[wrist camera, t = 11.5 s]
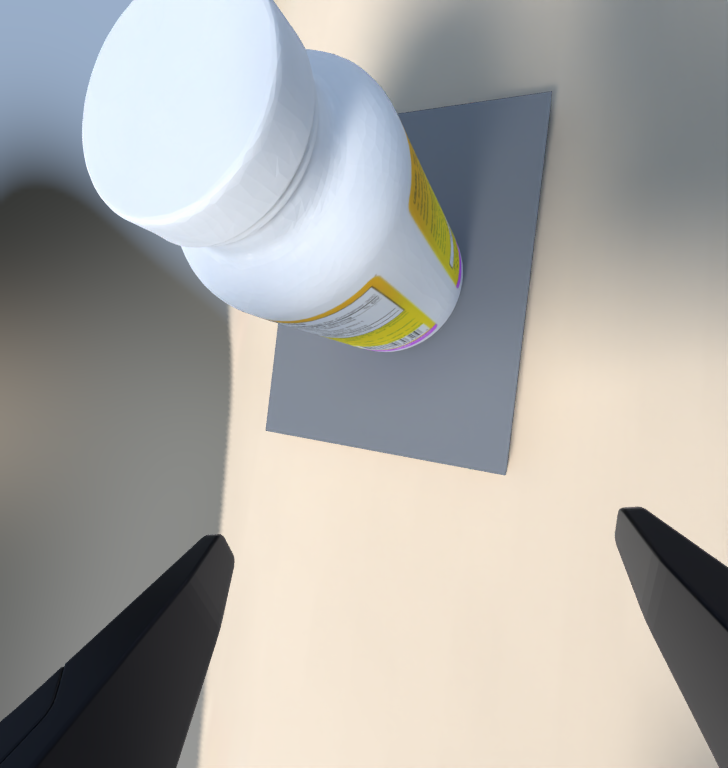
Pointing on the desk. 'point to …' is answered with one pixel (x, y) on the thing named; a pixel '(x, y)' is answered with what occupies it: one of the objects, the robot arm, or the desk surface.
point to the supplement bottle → (270, 172)
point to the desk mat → (465, 324)
